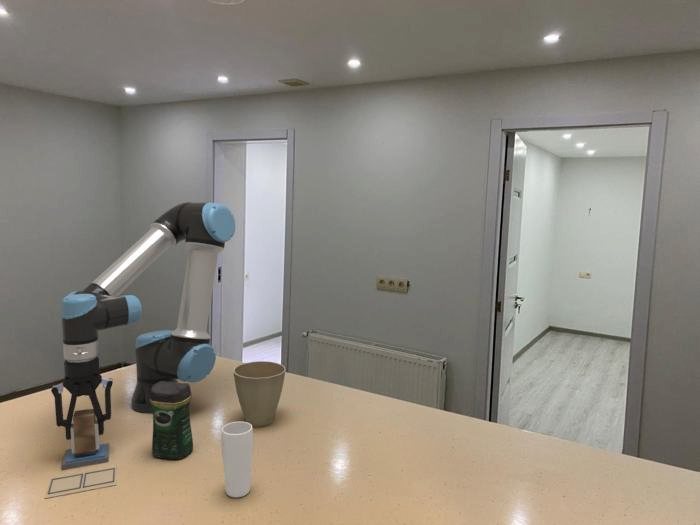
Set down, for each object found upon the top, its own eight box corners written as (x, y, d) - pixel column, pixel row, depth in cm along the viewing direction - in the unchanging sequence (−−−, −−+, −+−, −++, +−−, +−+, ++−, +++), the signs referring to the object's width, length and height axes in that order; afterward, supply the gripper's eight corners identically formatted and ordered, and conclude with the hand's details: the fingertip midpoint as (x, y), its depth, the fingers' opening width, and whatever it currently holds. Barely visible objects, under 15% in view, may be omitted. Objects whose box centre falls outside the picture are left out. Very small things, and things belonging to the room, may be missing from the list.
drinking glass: (225, 484, 116) (223, 421, 114) (255, 483, 116) (254, 420, 115) (220, 501, 109) (218, 435, 107) (251, 500, 110) (251, 434, 108)
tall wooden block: (96, 445, 129) (95, 408, 128) (95, 453, 125) (93, 415, 124) (76, 449, 128) (74, 410, 126) (75, 457, 123) (73, 418, 122)
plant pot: (240, 436, 139) (239, 380, 137) (229, 415, 153) (228, 364, 151) (292, 427, 145) (292, 373, 143) (277, 408, 159) (277, 358, 157)
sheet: (117, 466, 123) (116, 464, 123) (116, 485, 115) (116, 483, 115) (50, 478, 117) (50, 476, 117) (44, 499, 109) (44, 497, 109)
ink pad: (109, 447, 132) (109, 442, 132) (108, 462, 125) (108, 456, 125) (65, 454, 128) (65, 449, 128) (62, 470, 121) (61, 464, 121)
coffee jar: (198, 447, 133) (196, 379, 130) (181, 462, 125) (179, 390, 123) (165, 443, 135) (163, 375, 133) (146, 457, 127) (144, 386, 125)
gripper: (37, 366, 117) (42, 462, 119) (120, 358, 124) (124, 449, 126) (42, 357, 123) (47, 448, 126) (121, 350, 130) (124, 436, 133)
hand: (86, 448), depth 126 cm, fingers closed on tall wooden block, 4 cm apart
